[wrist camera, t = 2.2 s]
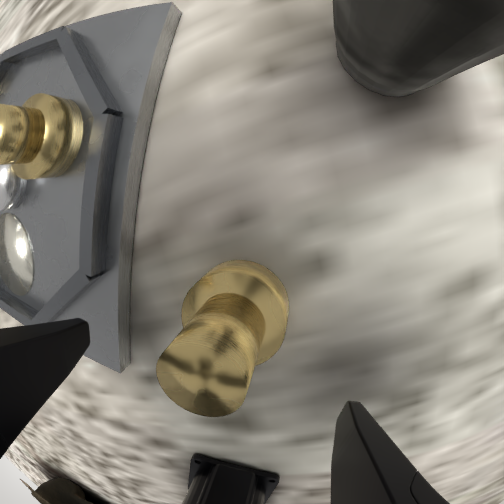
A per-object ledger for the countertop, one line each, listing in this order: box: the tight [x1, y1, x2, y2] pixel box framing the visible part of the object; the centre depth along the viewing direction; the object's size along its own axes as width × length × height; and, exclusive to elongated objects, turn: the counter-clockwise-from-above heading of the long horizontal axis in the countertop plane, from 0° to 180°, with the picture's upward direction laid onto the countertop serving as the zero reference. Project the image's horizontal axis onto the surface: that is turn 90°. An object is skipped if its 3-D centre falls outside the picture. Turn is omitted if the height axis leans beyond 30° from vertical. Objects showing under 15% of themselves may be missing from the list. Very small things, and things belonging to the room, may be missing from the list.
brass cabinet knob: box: [156, 260, 289, 417], centre depth 11 cm, size 4×4×6 cm
